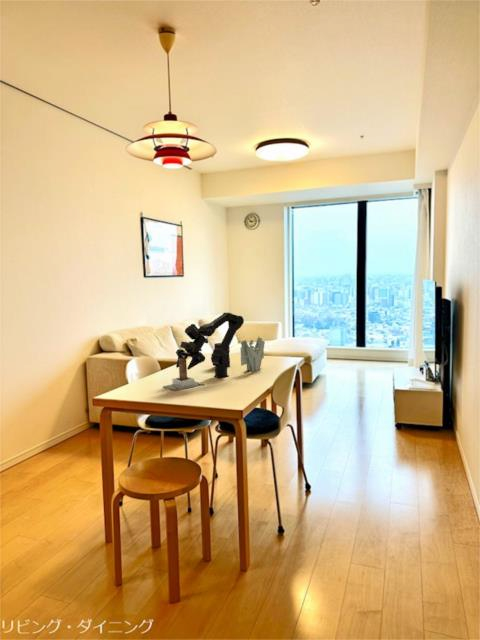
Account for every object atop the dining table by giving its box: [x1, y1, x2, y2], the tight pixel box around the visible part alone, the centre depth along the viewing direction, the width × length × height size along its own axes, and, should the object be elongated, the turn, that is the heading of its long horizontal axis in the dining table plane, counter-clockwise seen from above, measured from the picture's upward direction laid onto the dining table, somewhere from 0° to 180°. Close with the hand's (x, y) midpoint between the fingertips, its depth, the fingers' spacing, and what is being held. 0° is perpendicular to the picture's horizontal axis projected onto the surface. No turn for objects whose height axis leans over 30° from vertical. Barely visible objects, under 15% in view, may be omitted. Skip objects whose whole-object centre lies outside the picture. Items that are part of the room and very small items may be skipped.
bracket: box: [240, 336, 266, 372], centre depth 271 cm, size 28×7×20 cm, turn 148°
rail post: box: [178, 358, 188, 380], centre depth 235 cm, size 4×4×14 cm
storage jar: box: [213, 342, 231, 368], centre depth 285 cm, size 10×10×15 cm
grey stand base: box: [162, 376, 205, 392], centre depth 235 cm, size 18×12×4 cm, turn 131°
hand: (182, 368), depth 234 cm, fingers open, 9 cm apart
